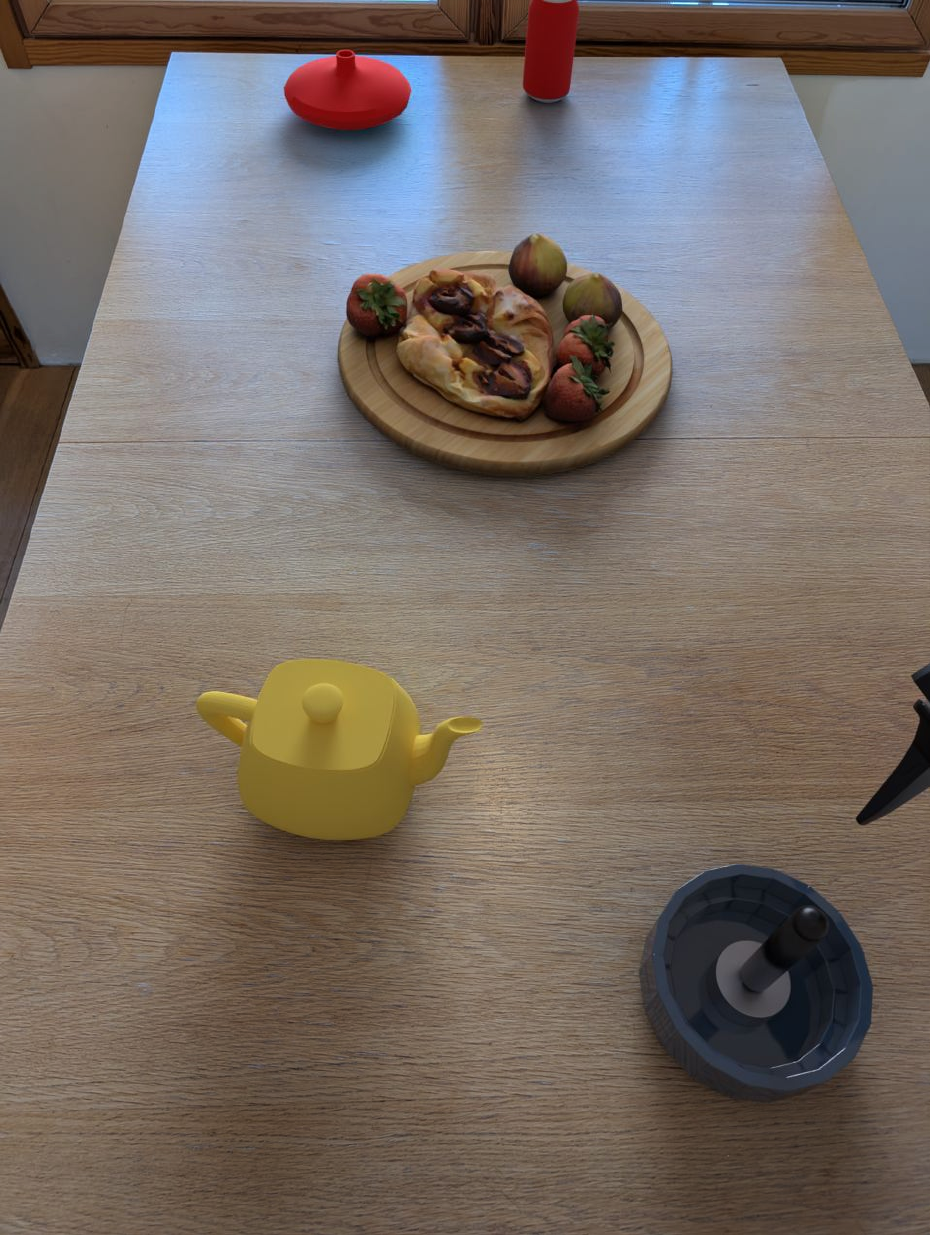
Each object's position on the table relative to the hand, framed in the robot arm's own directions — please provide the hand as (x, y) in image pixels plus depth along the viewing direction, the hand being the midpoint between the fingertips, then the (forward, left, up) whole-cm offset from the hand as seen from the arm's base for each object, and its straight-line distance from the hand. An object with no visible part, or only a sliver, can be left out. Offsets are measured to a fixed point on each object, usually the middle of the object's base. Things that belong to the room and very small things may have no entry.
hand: (906, 897), depth 51 cm
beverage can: (+46, -101, -10) cm, 111 cm away
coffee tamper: (+6, +5, -9) cm, 12 cm away
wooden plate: (+36, -47, -10) cm, 60 cm away
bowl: (+6, +5, -10) cm, 12 cm away
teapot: (+34, -1, -10) cm, 35 cm away
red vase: (+68, -87, -10) cm, 111 cm away
